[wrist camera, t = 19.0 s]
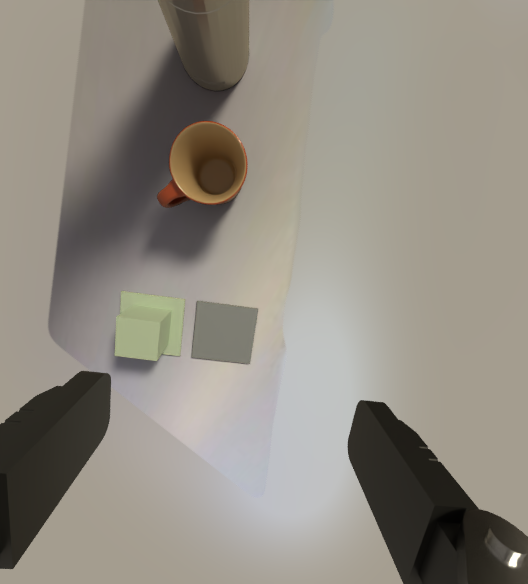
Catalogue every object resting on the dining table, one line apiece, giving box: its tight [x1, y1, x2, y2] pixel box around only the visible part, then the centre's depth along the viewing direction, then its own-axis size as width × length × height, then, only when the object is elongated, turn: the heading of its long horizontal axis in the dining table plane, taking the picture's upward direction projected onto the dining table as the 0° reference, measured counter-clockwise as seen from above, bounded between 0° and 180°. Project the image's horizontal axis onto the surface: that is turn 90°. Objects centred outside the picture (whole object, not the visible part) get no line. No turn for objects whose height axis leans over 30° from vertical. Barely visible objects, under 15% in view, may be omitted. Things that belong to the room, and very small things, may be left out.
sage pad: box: [120, 291, 185, 356], centre depth 45 cm, size 10×10×1 cm
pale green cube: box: [115, 305, 172, 361], centre depth 42 cm, size 6×6×6 cm
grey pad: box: [192, 301, 258, 364], centre depth 46 cm, size 10×10×1 cm
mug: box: [157, 121, 247, 208], centre depth 36 cm, size 12×9×10 cm
